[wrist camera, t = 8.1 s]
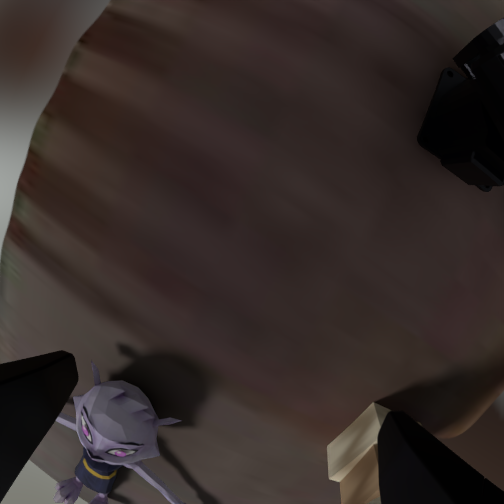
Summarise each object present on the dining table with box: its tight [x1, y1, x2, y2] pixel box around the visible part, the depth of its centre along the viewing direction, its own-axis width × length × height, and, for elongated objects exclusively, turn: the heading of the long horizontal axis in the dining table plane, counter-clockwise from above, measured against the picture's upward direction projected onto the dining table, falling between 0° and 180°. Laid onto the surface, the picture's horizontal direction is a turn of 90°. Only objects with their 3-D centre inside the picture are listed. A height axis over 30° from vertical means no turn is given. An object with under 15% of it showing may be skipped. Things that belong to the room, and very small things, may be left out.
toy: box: [53, 361, 186, 504], centre depth 24 cm, size 26×9×30 cm
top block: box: [340, 444, 380, 504], centre depth 16 cm, size 5×5×4 cm
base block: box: [327, 402, 422, 482], centre depth 20 cm, size 6×6×4 cm
